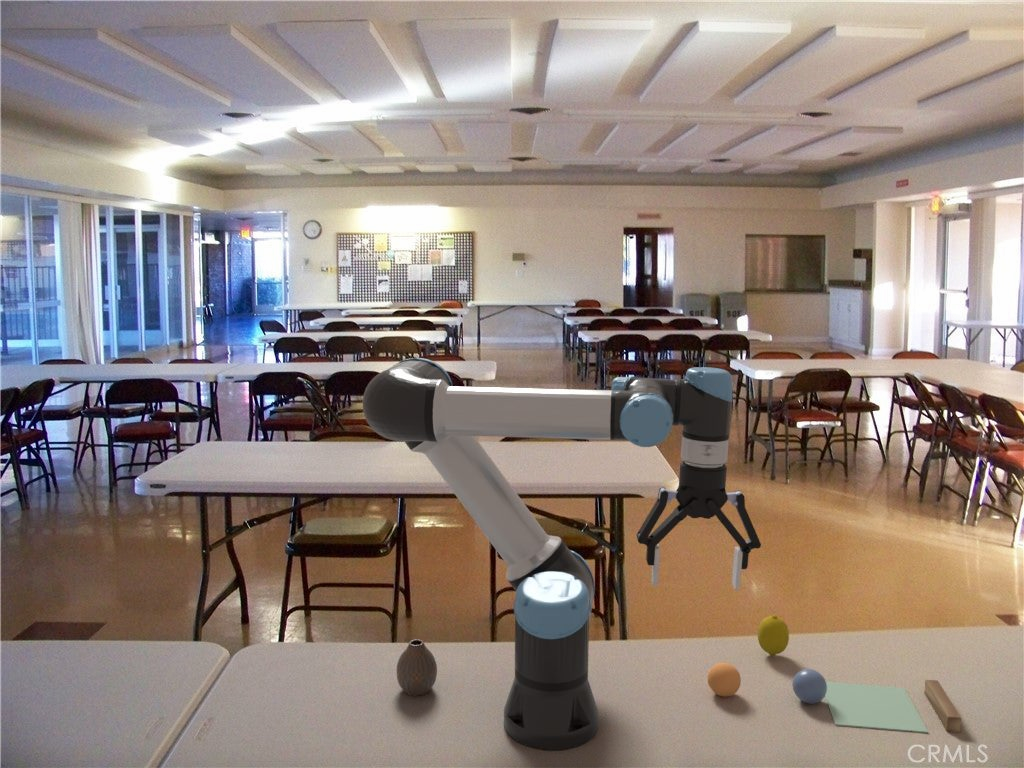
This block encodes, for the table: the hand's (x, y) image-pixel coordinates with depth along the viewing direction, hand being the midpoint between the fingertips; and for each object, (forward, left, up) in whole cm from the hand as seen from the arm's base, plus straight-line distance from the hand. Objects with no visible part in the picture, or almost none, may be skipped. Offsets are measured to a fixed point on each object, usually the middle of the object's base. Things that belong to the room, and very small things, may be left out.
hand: (694, 585), depth 149 cm
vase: (-47, -7, -20) cm, 51 cm away
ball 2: (+19, 0, -17) cm, 26 cm away
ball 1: (+5, 0, -17) cm, 17 cm away
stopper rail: (+40, 0, -19) cm, 45 cm away
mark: (+29, 0, -19) cm, 35 cm away
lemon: (+15, +16, -20) cm, 30 cm away
